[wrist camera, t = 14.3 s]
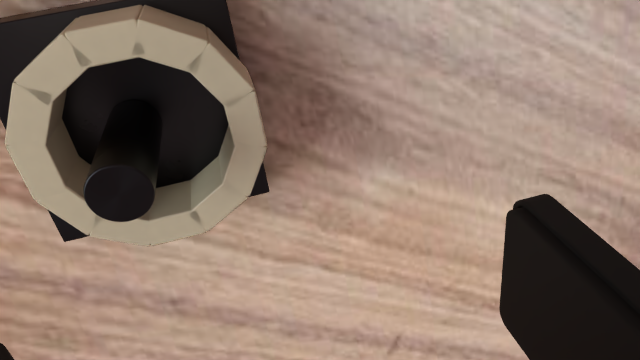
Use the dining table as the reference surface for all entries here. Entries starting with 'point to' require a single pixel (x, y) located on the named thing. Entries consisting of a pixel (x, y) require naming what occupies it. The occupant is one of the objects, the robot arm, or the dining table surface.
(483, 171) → the dining table surface
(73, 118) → the peg stand
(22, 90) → the tape roll
